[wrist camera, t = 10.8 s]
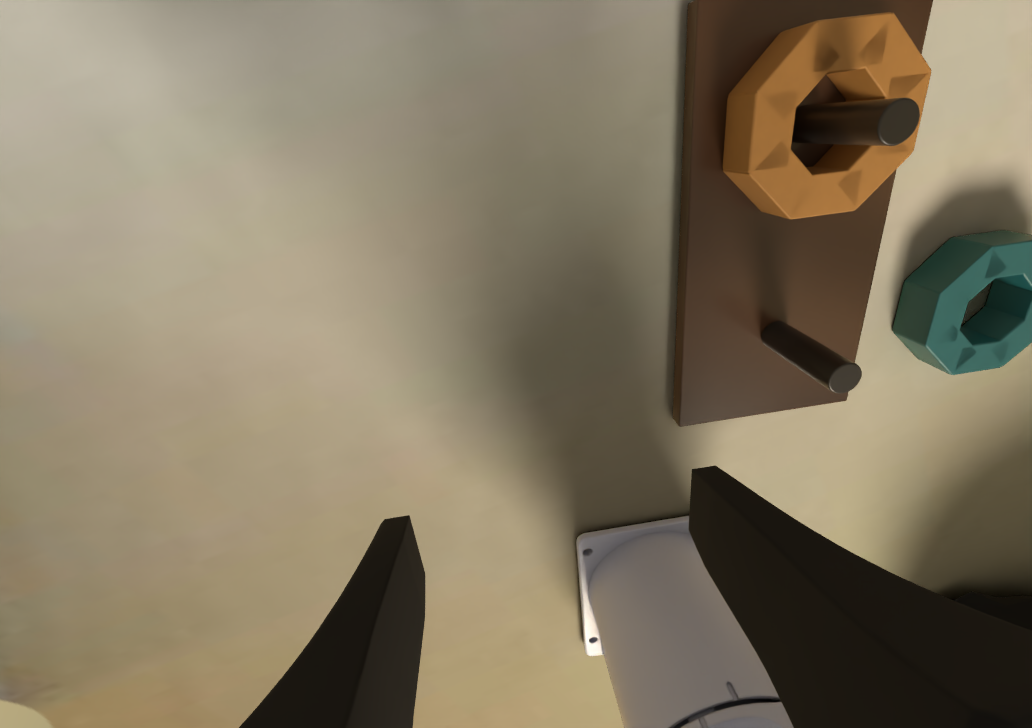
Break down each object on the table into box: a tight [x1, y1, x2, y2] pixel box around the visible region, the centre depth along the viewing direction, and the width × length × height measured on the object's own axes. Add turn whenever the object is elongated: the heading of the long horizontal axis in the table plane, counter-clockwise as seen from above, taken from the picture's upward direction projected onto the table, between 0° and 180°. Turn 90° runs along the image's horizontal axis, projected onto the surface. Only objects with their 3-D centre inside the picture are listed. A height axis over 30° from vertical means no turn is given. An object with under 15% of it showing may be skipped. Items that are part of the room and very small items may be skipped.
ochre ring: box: [723, 12, 931, 219], centre depth 16 cm, size 6×6×2 cm
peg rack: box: [673, 0, 933, 427], centre depth 17 cm, size 16×8×5 cm, turn 6°
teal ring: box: [892, 230, 1032, 375], centre depth 21 cm, size 6×6×2 cm
